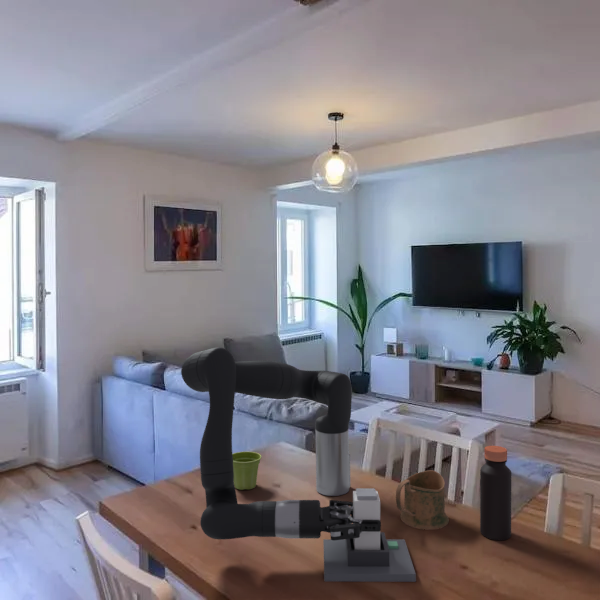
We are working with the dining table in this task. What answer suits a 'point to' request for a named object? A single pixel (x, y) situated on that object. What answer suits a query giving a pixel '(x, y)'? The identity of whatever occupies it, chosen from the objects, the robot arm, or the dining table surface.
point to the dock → (368, 561)
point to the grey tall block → (366, 517)
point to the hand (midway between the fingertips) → (378, 519)
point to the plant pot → (245, 469)
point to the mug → (423, 501)
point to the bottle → (495, 495)
